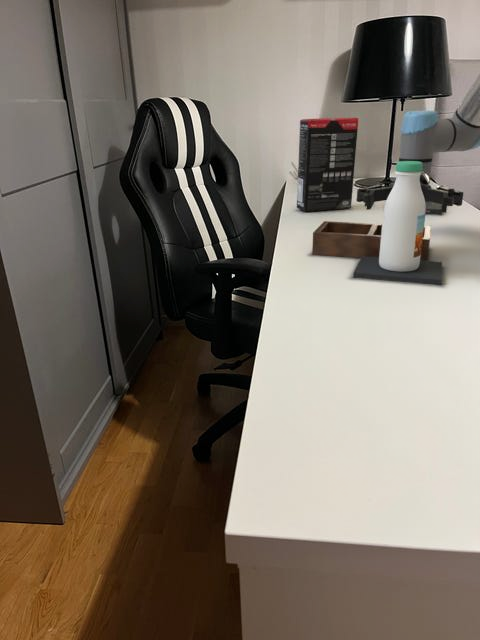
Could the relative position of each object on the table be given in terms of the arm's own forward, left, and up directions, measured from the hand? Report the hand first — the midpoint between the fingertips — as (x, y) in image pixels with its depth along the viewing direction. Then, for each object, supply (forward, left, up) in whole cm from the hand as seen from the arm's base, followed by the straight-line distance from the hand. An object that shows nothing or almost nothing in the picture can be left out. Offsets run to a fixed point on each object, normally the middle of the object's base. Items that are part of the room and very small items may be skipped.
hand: (406, 203), depth 94 cm
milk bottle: (0, -1, -13) cm, 13 cm away
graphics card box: (+27, -62, -14) cm, 69 cm away
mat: (0, -1, -13) cm, 14 cm away
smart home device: (-4, -71, -14) cm, 72 cm away
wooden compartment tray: (+7, -15, -13) cm, 21 cm away
